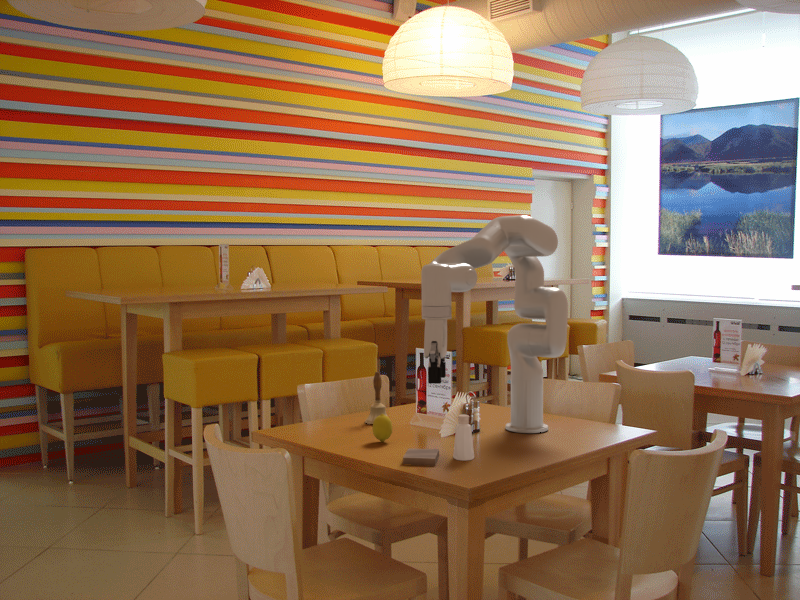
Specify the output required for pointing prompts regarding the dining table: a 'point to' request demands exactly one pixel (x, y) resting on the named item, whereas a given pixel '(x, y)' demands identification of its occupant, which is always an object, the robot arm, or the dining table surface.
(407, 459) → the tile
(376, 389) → the hand bell
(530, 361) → the robot arm
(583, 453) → the dining table surface
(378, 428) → the lemon
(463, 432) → the pepper shaker
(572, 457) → the dining table surface
